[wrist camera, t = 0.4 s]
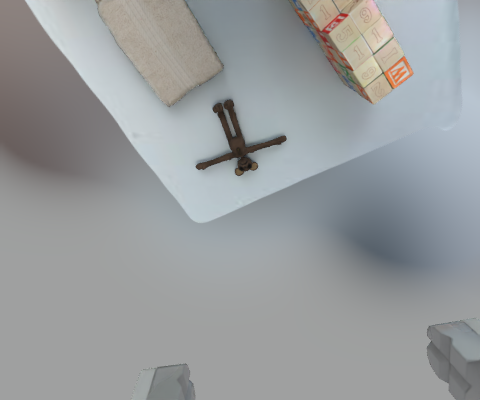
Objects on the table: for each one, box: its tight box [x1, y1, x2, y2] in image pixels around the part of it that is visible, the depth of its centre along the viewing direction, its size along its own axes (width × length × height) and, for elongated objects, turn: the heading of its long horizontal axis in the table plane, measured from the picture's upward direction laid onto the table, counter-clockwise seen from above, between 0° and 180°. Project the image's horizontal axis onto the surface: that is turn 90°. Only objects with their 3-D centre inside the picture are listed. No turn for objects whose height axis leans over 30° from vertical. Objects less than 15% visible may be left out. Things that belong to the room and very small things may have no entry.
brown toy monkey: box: [196, 100, 287, 176], centre depth 57 cm, size 18×4×14 cm
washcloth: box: [95, 0, 224, 107], centre depth 47 cm, size 12×18×3 cm, turn 32°
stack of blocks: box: [289, 0, 414, 104], centre depth 43 cm, size 21×6×12 cm, turn 42°
